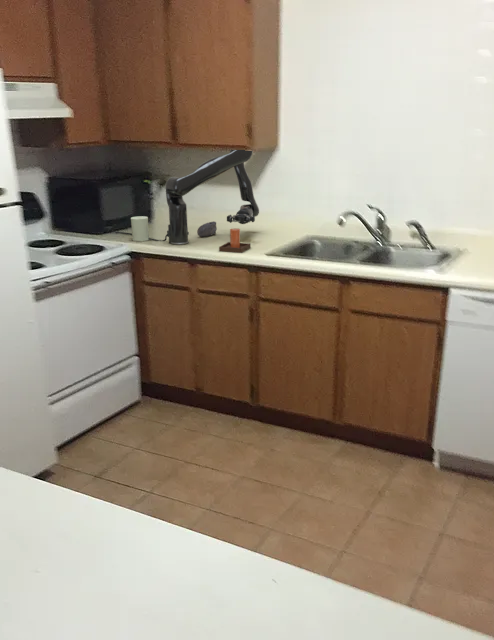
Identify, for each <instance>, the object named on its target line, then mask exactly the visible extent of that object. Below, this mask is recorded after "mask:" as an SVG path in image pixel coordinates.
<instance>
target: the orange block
mask: <svg viewBox="0 0 494 640" xmlns="http://www.w3.org/2000/svg"><path fill="white" fill-rule="evenodd" d="M229 242H230V247H233V248H240V243H241V229H240V228H230V229H229Z"/></svg>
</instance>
